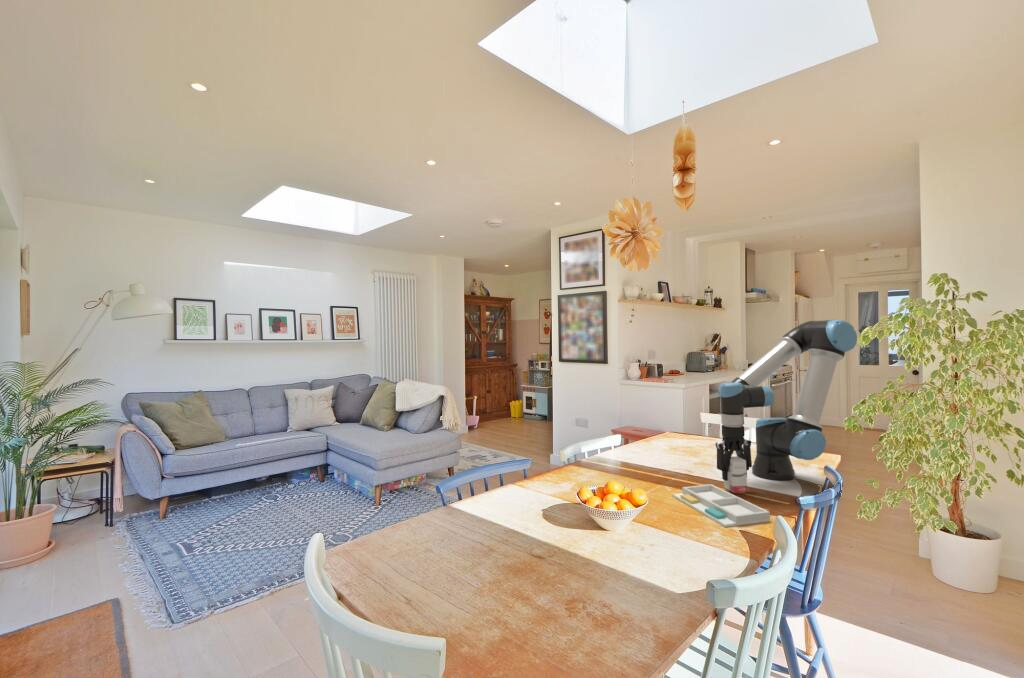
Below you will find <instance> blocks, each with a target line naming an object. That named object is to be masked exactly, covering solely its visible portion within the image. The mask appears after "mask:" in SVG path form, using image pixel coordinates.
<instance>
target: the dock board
mask: <svg viewBox="0 0 1024 678" xmlns="http://www.w3.org/2000/svg"><path fill="white" fill-rule="evenodd" d="M672 498H675V499H676V500H678V501H680V502H681V503H683V504H685V505H686V506H688V507H690V508H691V509H694V510H695V511H697V512H698V513H700V514H702V515H703V516H705V517H706V518H708V519H711V520H712V521H714V522H715V523H717V524H719V525H720V526H722V527H724V528H730V527H736V526H737V527H738V526H743V525H745V526H746V525H751V524H757V523H766V522H770V521H771V512H770V511H769V510H767V509H765V508H762V507H760V506H758V505H756V504H754V503H751V502H750V501H747V500H745V499H743V498H741V497H739V496H737V495H735V494H733V493H731V492H728V491H726V489H722V488H720V487H718V486H716V485H714V484H712V483H708V484H699V485H693V486H682V487H681V492H680V493H672Z"/></svg>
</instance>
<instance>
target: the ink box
mask: <svg viewBox="0 0 1024 678" xmlns="http://www.w3.org/2000/svg"><path fill="white" fill-rule="evenodd" d="M728 471H729V472H730V475H731V490H730V491H731V492H732V493H734V494H742V493H743V494H744V493H748V479H747V478H748V473H747V474H746V460H744V459H742V458H740V457H738V456H737V454H734V453H733V454H732V456H731V459H730V465H729V470H728Z"/></svg>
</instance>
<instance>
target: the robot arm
mask: <svg viewBox="0 0 1024 678" xmlns="http://www.w3.org/2000/svg"><path fill="white" fill-rule="evenodd" d="M857 335H858V334H857V331H856V330H855V327H854V326H853V325H852V324H851V323H850V322H849V321H846V320H841V319H828V320H826V319H825V320H810V321H805V322H803V323H800V324H799V325H797V326H795V327H793V328H792V329H791V330H789V331H788V332H786V333H785V334H784V335H782V336H781V337H780V338H779V340H778V343H776V345H774V346H773V347H772V348H771V349H769V351H767V352H766V353H764V355H762V356H760V358H759V359H757V360H756V361H755V362H754V363H752V364H751V365H750V366H749V367H748V368H746V369H745V370H744V371H743V372H742V373H740V374H739V375H738V376H737V377H736V378H734V379H733V380H732V381H726V382H723V383H721V384H720V385H719V387H718V390H717V394H718V396H719V398H720V416H721V424H722V425H721V435H722V439H721V441H720V442H715V444H714V445H715V447H716V469H717V470H719V471H721V476H722V477H721V478H722V481H723V488H724V489H725V490H728V491H731V475H730V472H729V471H728V470H729V465H730V459H731V456H732V454H734V452H735V453H736V454H735V455H737V456H738V457H740V458H742V459H744V460H746V474H747V475H748V471H749V470H750V468H751V473H752V474H753V475H755V477H758V478H762V479H766V480H767V479H768V480H773V481H789V480H793V479H795V478H796V471H795V469H794V467H793V463H792V461H791V458H790V456H791V457H794V458H796V459H799V460H804V461H812V460H815V459H817V458H819V457H821V455H822V454H823V453H824V452H825V449H826V447H827V440H826V437H825V435H824V434H823V432H822V431H823V429H824V428H823V426H822V424H821V423H820V421H821V418H822V415H823V411H824V407H825V404H826V401H827V397H828V394H829V391H830V388H831V384H832V381H833V379H834V374H835V372H836V371H835V370H836V368H837V364H838V362H840V361H842V360H843V359H844V358H845V354H846V352H850V351H851V350H853V349H855V347H856V346H857V341H858V336H857ZM805 352H808V353H809V355H810V359H809V361H808V365H807V368H806V371H805V374H804V378H803V381H802V385H801V388H800V391H799V395H798V398H797V401H796V404H795V408H794V411H793V413H792V414H791V415H790V416H788V417H764V418H763V417H762V418H760V417H759V418H758V419H756V422H755V428H754V429H755V443H756V444H755V445H756V449H755V450H756V454H755V458H754V461H753V464H752V451H751V445H752V441H751V440H749V439H746V438H745V437H744V436H745V426H744V425H745V410H744V409H746V408H765V407H770V406H772V405H773V404H774V402H775V392H774V391H773V389H772V388H771V387H770V386H767V385H761V384H762V383H763V382H765V381H766V380H767V379H768V378H770V377H771V376H772V375H773V374H775V372H777V371H778V370H779V369H780V368H782V367H783V366H784V365H786V364H787V363H788V362H789V361H790V360H791V359H793V358H794V357H799V356H800V355H802V354H803V353H805Z"/></svg>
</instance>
